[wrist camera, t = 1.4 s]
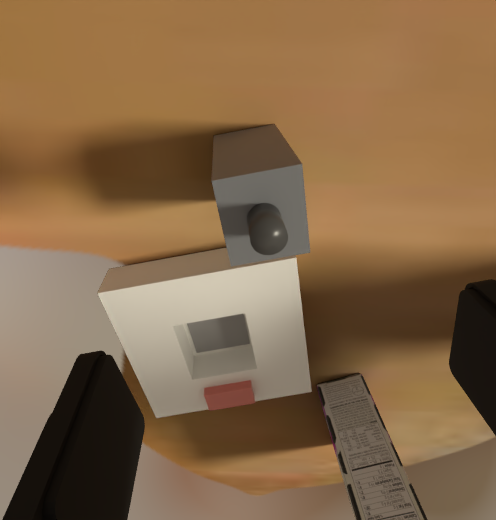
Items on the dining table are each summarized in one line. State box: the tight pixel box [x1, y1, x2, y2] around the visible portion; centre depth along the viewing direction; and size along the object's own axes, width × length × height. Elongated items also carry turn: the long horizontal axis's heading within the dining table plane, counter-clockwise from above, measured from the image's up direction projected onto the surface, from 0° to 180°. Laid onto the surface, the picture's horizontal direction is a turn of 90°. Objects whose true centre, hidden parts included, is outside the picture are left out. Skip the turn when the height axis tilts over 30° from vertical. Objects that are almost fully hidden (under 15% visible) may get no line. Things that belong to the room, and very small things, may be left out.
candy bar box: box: [317, 374, 427, 520], centre depth 32 cm, size 11×5×16 cm, turn 17°
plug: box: [212, 124, 310, 267], centre depth 20 cm, size 4×4×11 cm
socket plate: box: [97, 248, 312, 418], centre depth 30 cm, size 14×14×4 cm
